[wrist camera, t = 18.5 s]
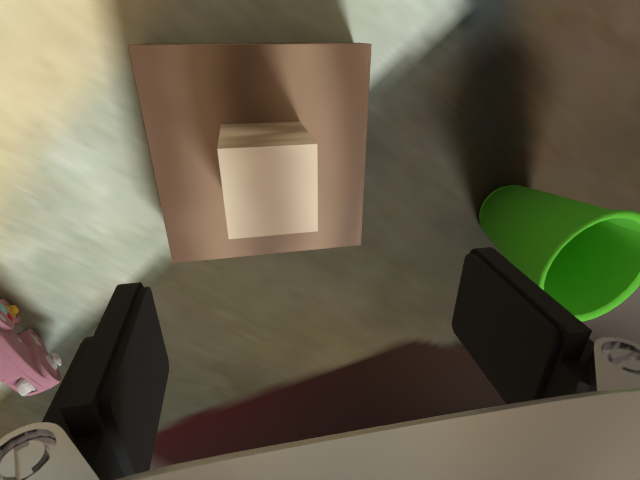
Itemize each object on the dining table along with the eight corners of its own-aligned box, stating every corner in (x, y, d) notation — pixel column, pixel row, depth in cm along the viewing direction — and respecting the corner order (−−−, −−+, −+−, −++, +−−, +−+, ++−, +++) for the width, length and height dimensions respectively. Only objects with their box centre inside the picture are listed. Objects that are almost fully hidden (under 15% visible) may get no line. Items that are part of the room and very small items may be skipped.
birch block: (299, 121, 25) (317, 143, 20) (301, 194, 28) (317, 231, 22) (220, 124, 24) (217, 149, 19) (229, 199, 27) (228, 239, 21)
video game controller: (67, 347, 36) (77, 389, 31) (13, 379, 34) (13, 430, 29) (-6, 261, 31) (-10, 293, 26) (-74, 294, 29) (-93, 335, 24)
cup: (441, 206, 35) (519, 270, 25) (528, 141, 34) (645, 183, 24) (481, 268, 39) (561, 343, 30) (559, 212, 38) (670, 272, 28)
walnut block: (353, 42, 27) (371, 44, 24) (347, 223, 34) (360, 244, 30) (142, 43, 25) (128, 45, 22) (179, 238, 32) (172, 263, 28)
